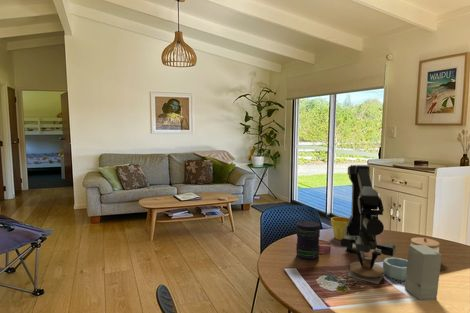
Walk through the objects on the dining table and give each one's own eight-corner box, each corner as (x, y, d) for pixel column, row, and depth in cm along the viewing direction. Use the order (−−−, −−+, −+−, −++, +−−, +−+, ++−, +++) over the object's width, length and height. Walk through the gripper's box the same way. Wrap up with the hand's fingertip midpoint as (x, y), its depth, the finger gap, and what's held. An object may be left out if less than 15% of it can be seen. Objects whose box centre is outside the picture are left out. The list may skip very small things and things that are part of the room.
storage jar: (323, 256, 144) (324, 223, 143) (312, 263, 137) (312, 228, 136) (303, 251, 151) (304, 219, 150) (291, 257, 144) (292, 223, 142)
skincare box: (403, 288, 115) (405, 244, 114) (423, 287, 116) (425, 243, 115) (419, 301, 107) (421, 253, 106) (440, 300, 108) (442, 252, 106)
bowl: (380, 275, 126) (381, 263, 126) (387, 266, 134) (387, 255, 134) (410, 282, 120) (410, 270, 120) (414, 272, 128) (415, 261, 128)
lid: (345, 271, 125) (346, 259, 124) (355, 261, 134) (355, 250, 134) (379, 280, 118) (380, 267, 117) (387, 268, 127) (387, 257, 127)
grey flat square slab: (347, 276, 125) (347, 275, 125) (356, 266, 134) (356, 265, 134) (378, 284, 119) (378, 283, 119) (385, 273, 127) (385, 272, 127)
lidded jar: (443, 265, 136) (444, 242, 135) (414, 262, 138) (415, 240, 137) (433, 255, 146) (434, 234, 145) (406, 253, 148) (407, 233, 147)
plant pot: (331, 240, 165) (332, 221, 164) (329, 234, 175) (329, 216, 174) (353, 241, 163) (354, 222, 163) (349, 235, 174) (350, 217, 173)
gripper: (336, 227, 124) (335, 267, 125) (390, 237, 113) (388, 281, 114) (346, 221, 133) (345, 258, 134) (397, 229, 122) (395, 270, 123)
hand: (366, 267), depth 126 cm, fingers closed on lid, 3 cm apart
